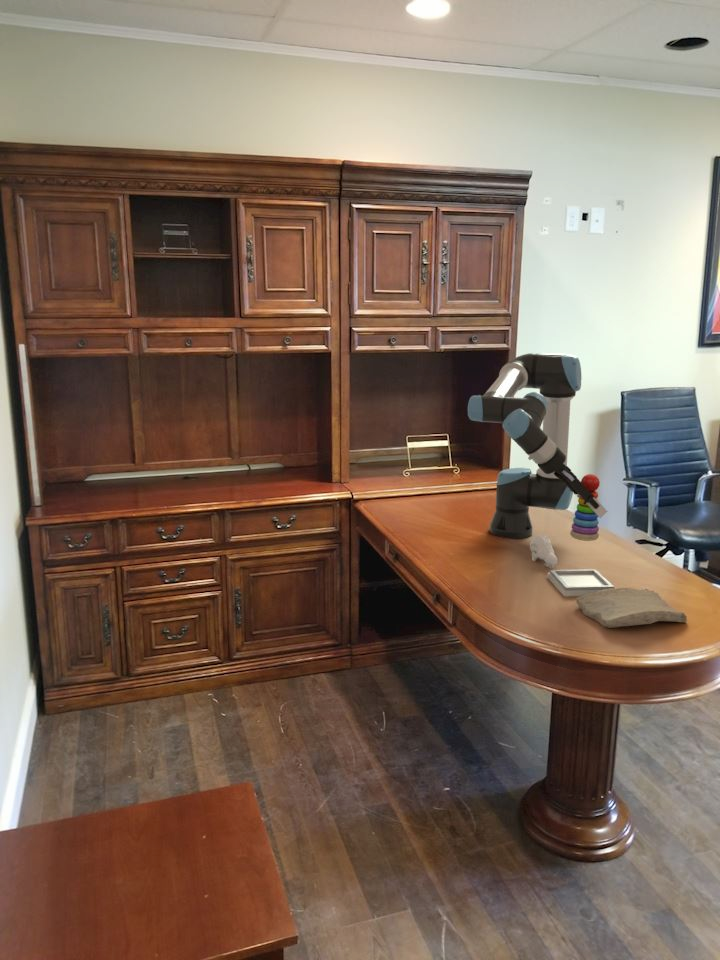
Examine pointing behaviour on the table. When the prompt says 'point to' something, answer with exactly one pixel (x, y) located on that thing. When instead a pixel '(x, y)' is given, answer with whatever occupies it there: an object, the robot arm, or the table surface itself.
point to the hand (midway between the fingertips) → (598, 511)
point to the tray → (578, 581)
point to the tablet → (627, 607)
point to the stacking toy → (586, 513)
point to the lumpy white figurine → (543, 550)
